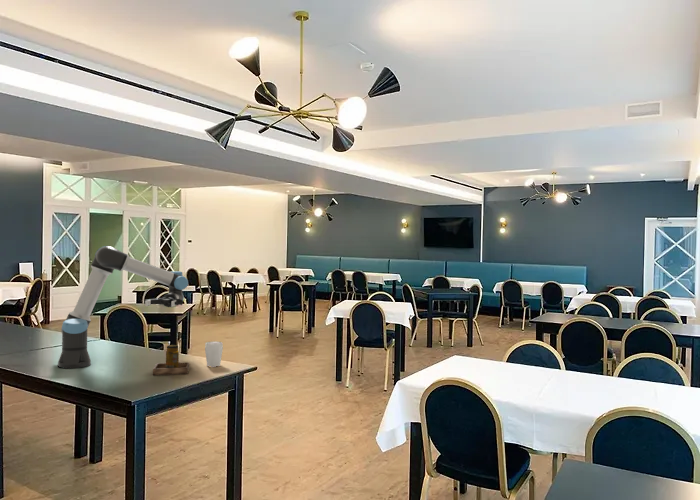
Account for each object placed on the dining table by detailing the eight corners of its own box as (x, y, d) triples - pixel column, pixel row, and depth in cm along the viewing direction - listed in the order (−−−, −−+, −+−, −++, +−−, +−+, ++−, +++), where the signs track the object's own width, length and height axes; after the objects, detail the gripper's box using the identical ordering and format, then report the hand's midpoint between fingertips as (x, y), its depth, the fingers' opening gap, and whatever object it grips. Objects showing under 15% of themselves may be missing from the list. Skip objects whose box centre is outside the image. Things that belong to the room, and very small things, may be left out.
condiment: (178, 367, 279) (178, 344, 279) (180, 371, 272) (181, 346, 272) (163, 368, 276) (163, 344, 276) (165, 372, 268) (165, 347, 268)
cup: (219, 367, 284) (220, 344, 284) (202, 367, 284) (202, 344, 284) (224, 364, 293) (224, 341, 293) (207, 363, 293) (207, 341, 293)
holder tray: (152, 375, 266) (152, 368, 266) (156, 369, 279) (156, 363, 278) (187, 374, 269) (187, 367, 269) (189, 368, 282) (189, 362, 282)
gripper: (192, 306, 311) (182, 311, 290) (148, 306, 310) (134, 310, 289) (193, 293, 311) (183, 296, 290) (148, 292, 310) (135, 296, 289)
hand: (159, 303), depth 289 cm, fingers open, 13 cm apart
